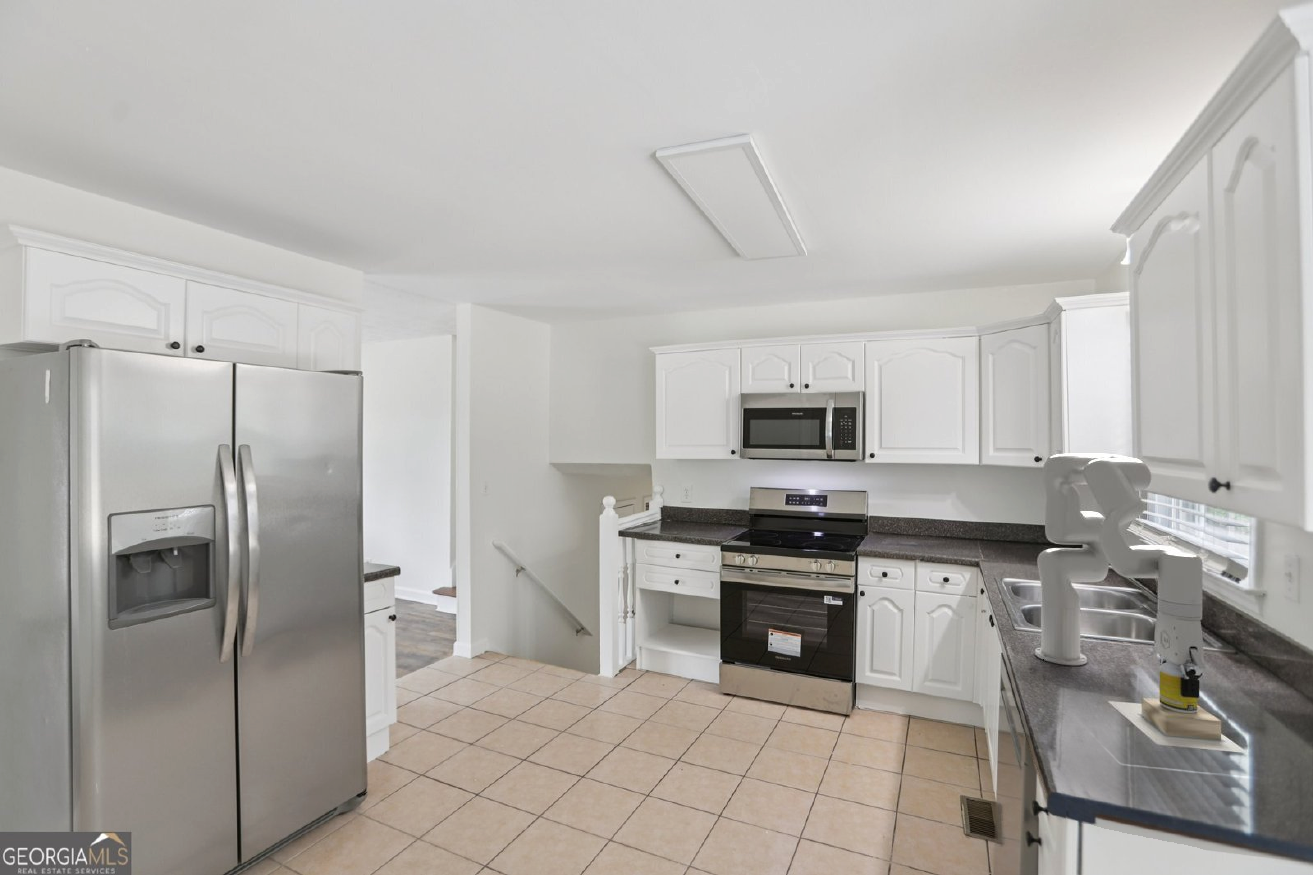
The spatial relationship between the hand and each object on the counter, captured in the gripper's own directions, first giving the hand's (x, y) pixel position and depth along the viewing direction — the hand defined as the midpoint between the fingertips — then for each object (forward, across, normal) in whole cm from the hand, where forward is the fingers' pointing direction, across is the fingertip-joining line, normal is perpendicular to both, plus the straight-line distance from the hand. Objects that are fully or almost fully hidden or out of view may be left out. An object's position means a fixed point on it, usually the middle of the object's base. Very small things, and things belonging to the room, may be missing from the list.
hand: (1179, 689), depth 139 cm
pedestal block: (+8, 0, 0) cm, 8 cm away
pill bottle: (+4, 0, 0) cm, 4 cm away
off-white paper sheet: (+9, -1, -1) cm, 9 cm away
